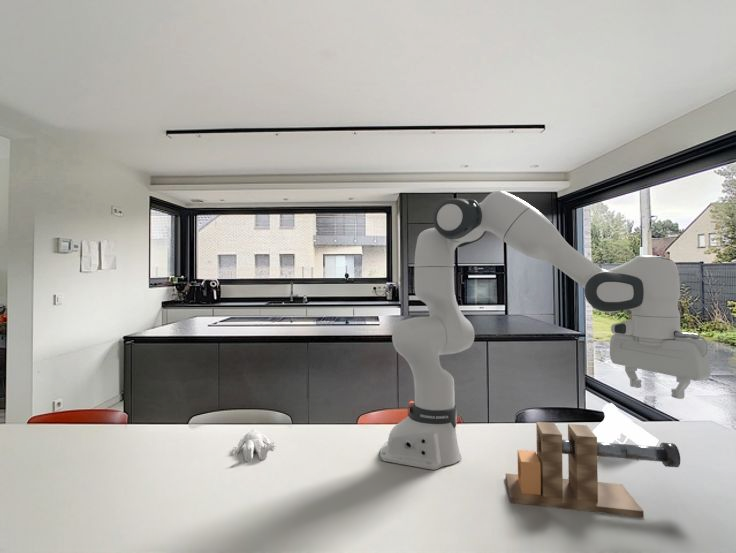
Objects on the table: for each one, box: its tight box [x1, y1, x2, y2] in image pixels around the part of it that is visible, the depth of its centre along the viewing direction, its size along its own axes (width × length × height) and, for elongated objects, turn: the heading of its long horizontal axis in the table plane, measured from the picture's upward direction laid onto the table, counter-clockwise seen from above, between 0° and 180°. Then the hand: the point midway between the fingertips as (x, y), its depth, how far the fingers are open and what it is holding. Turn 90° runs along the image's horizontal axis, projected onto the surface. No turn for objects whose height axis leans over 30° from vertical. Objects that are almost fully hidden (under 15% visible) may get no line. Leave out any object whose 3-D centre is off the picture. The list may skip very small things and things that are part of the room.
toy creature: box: [232, 429, 277, 463], centre depth 120 cm, size 12×6×12 cm
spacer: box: [517, 449, 541, 495], centre depth 97 cm, size 4×7×7 cm, turn 167°
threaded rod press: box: [505, 421, 645, 518], centre depth 95 cm, size 26×12×15 cm, turn 77°
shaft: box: [562, 439, 681, 468], centre depth 93 cm, size 26×5×5 cm, turn 77°
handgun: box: [591, 402, 660, 447], centre depth 120 cm, size 18×3×14 cm
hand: (655, 392), depth 92 cm, fingers open, 8 cm apart
